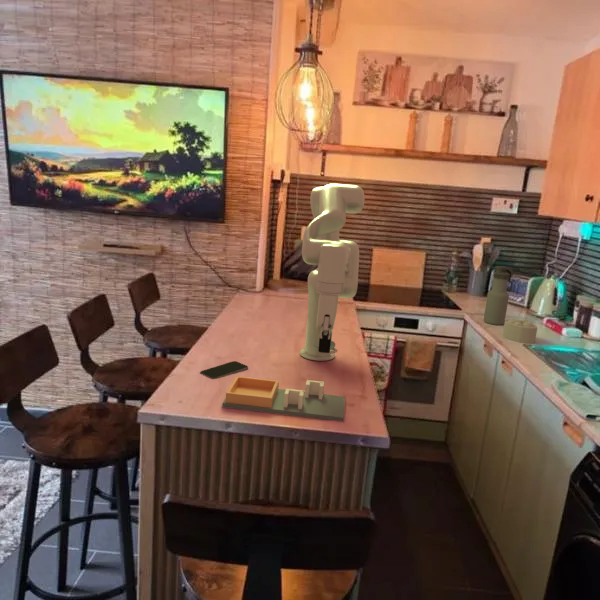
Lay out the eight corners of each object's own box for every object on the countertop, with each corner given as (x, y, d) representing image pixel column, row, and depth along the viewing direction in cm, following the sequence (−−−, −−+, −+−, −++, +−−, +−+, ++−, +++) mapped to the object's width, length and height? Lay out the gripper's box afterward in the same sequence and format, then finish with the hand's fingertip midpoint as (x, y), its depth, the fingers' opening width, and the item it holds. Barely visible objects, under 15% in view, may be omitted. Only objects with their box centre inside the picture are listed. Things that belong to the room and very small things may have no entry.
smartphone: (198, 371, 165) (234, 360, 175) (198, 375, 165) (234, 363, 176) (213, 378, 160) (249, 366, 171) (212, 382, 160) (249, 369, 171)
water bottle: (495, 319, 262) (505, 265, 256) (509, 325, 254) (519, 268, 247) (479, 320, 259) (487, 264, 253) (491, 325, 250) (501, 268, 244)
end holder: (236, 384, 154) (236, 376, 154) (278, 389, 153) (278, 380, 152) (225, 402, 142) (226, 392, 141) (271, 407, 141) (271, 398, 140)
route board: (234, 387, 155) (235, 371, 154) (344, 400, 152) (346, 383, 151) (222, 407, 142) (223, 389, 140) (343, 421, 139) (345, 403, 138)
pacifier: (341, 352, 150) (326, 346, 155) (344, 332, 149) (329, 326, 153) (324, 357, 145) (309, 350, 149) (327, 335, 144) (311, 330, 148)
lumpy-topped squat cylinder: (509, 333, 238) (512, 315, 237) (538, 341, 230) (542, 322, 228) (500, 337, 231) (503, 318, 229) (529, 345, 222) (533, 326, 220)
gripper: (318, 281, 155) (313, 338, 159) (314, 292, 138) (309, 356, 142) (343, 283, 155) (338, 341, 159) (343, 294, 138) (336, 359, 142)
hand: (324, 347), depth 150 cm, fingers closed on pacifier, 6 cm apart
